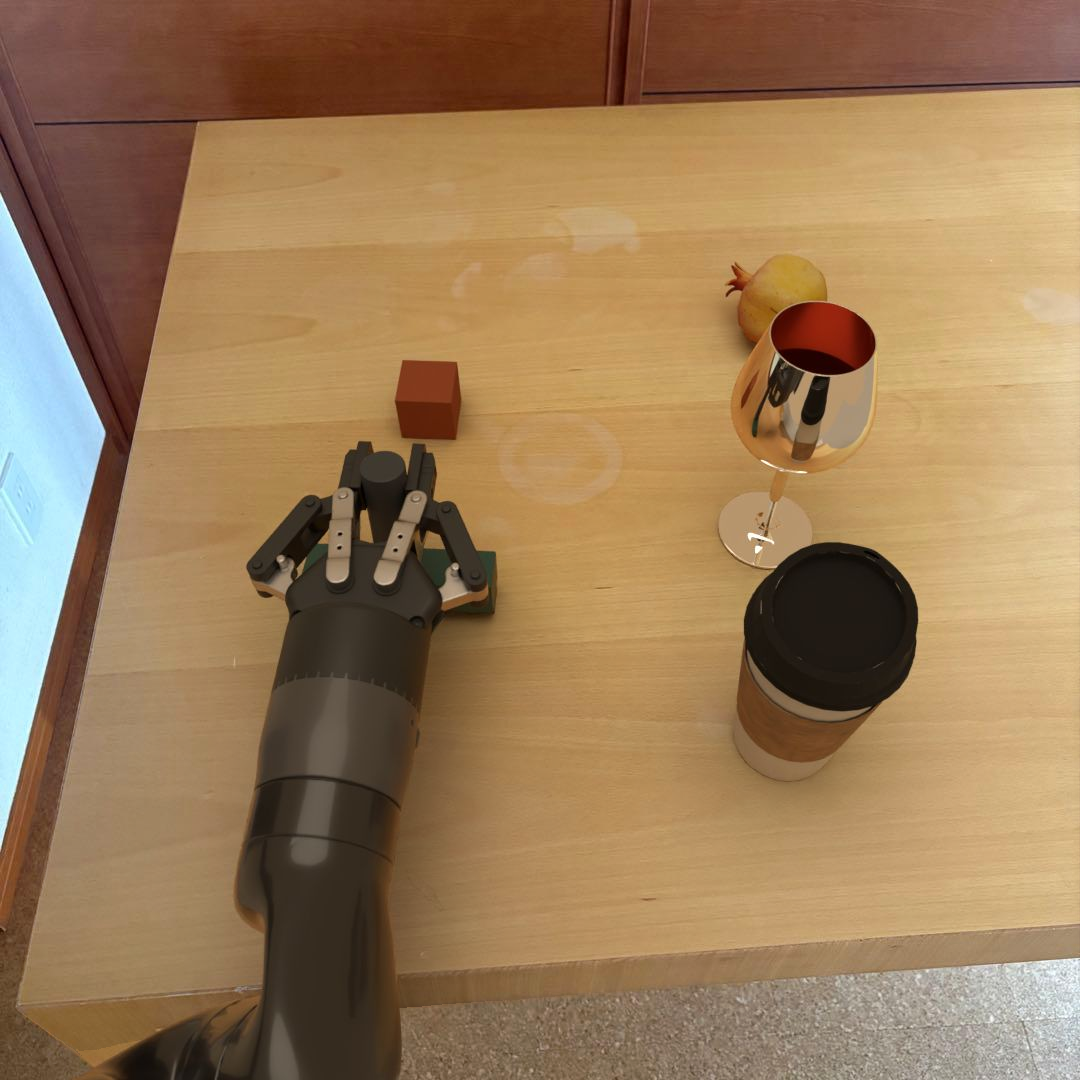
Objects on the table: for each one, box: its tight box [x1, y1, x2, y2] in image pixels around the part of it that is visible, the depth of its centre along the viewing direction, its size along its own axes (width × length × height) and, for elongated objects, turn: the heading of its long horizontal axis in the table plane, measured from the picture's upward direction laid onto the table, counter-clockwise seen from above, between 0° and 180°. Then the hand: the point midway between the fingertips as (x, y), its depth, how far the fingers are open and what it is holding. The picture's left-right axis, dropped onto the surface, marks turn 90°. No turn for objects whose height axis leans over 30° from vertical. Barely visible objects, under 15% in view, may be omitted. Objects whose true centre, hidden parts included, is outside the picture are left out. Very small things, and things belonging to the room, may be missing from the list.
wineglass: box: [717, 301, 879, 570], centre depth 62 cm, size 8×8×18 cm
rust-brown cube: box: [394, 359, 462, 440], centre depth 73 cm, size 4×4×4 cm
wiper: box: [301, 450, 498, 615], centre depth 62 cm, size 12×3×12 cm, turn 86°
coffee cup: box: [732, 541, 919, 782], centre depth 54 cm, size 8×8×15 cm
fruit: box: [724, 253, 828, 344], centre depth 77 cm, size 7×7×10 cm
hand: (393, 451), depth 60 cm, fingers closed on wiper, 2 cm apart
